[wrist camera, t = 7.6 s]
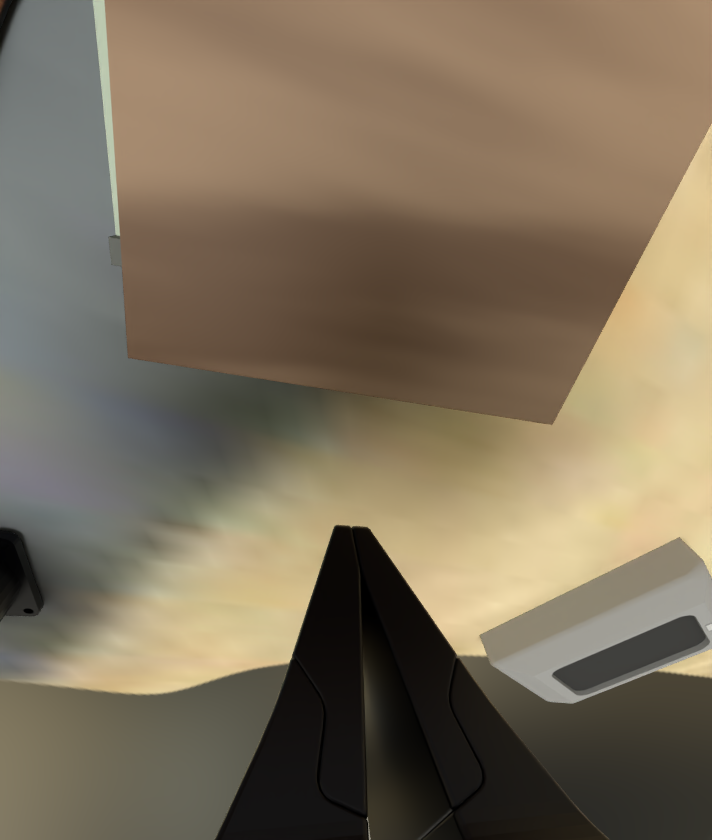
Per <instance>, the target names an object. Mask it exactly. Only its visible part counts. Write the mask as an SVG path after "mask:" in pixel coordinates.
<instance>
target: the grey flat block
mask: <svg viewBox="0 0 712 840" xmlns="http://www.w3.org/2000/svg"><path fill="white" fill-rule="evenodd" d="M480 637H481V640H482V643H483V645H484V648H485V651H486V654H487V656H488V659H489V662H490V664H491V665H492V666H494V667H495V668H497V669H498V670H500V671H502V672H503V673H505V674H506V675H508V676H509V677H511V678H512V679H514V680H516V681H517V682H519V683H520V684H522V685H523V686H525V687H526V688H528V689H529V690H531V691H532V692H534V693H535V694H537V695H538V696H540V697H541V698H543V699H545V700H546V701H549V702H560V703H575V702H578V701H580V700H583V699H585V698H588V697H590V696H593V695H595V694H598V693H601V692H603V691H606V690H608V689H611V688H613V687H616V686H618V685H621V684H623V683H626V682H629V681H631V680H633V679H636V678H638V677H641V676H643V675H646V674H649V673H651V672H654V671H656V670H659V669H662V668H664V667H667V666H669V665H672V664H674V663H677V662H679V661H682V660H684V659H687V658H689V657H692V656H695V655H697V654H700V653H702V652H705V651H707V650H710V649H712V578H711V576H710V574H709V572H708V569H707V567H706V565H705V563H704V561H703V560H702V559H701V558H700V557H699V556H698V555H697V554H696V553H695V552H694V551H693V550H692V549H691V548H690V547H689V546H688V545H687V544H686V543H685V542H684V541H683V540H682V539H681V538H680V537H679V538H677V539H675V540H673V541H671V542H669V543H667V544H665V545H663V546H661V547H659V548H657V549H655V550H652V551H650V552H648V553H646V554H644V555H642V556H640V557H638V558H636V559H634V560H632V561H630V562H628V563H626V564H624V565H622V566H620V567H618V568H616V569H614V570H612V571H610V572H608V573H605V574H603V575H601V576H599V577H597V578H595V579H593V580H591V581H589V582H587V583H585V584H583V585H581V586H579V587H577V588H575V589H573V590H571V591H569V592H567V593H565V594H563V595H560V596H558V597H556V598H554V599H552V600H550V601H548V602H546V603H544V604H542V605H540V606H538V607H536V608H534V609H532V610H530V611H528V612H526V613H524V614H522V615H520V616H518V617H515V618H513V619H511V620H509V621H507V622H505V623H503V624H501V625H499V626H497V627H495V628H493V629H491V630H489V631H487V632H485V633H483V634H481V635H480Z"/></svg>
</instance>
